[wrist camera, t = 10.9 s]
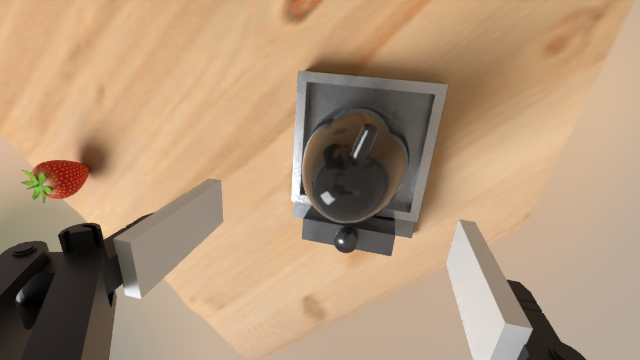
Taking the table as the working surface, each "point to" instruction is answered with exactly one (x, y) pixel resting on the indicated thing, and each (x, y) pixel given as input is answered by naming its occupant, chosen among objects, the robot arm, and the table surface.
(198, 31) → the table surface
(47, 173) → the fruit
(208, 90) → the table surface
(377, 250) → the tray unit
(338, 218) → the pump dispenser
